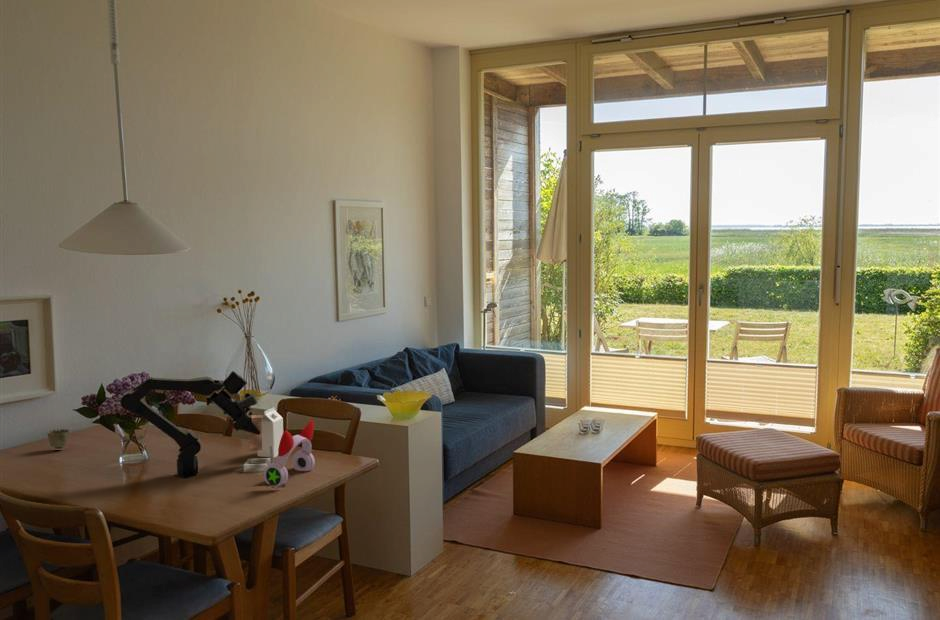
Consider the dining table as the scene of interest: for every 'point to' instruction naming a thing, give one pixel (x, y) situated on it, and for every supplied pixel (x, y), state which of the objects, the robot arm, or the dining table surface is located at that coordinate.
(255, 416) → the peg
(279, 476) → the headphones
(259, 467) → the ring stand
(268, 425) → the milk carton
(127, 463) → the dining table surface
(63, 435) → the cup
